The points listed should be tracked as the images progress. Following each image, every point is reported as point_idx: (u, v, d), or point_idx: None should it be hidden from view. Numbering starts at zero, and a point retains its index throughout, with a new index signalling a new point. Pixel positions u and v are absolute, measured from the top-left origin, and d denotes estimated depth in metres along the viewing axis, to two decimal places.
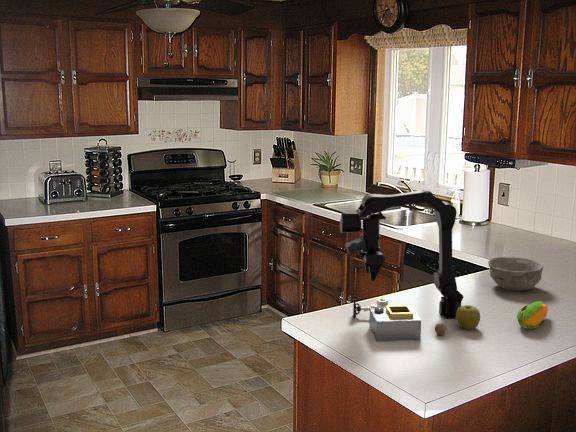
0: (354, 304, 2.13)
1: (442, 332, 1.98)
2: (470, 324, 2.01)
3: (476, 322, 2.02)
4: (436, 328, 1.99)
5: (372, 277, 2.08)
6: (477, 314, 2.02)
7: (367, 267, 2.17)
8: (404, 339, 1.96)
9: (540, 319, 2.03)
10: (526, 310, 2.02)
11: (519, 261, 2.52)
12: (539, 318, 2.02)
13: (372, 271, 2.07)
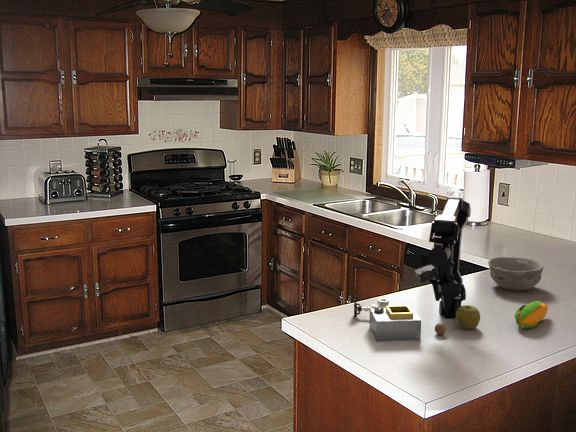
0: (355, 304, 2.13)
1: (442, 332, 1.98)
2: (470, 324, 2.01)
3: (476, 322, 2.02)
4: (436, 328, 1.99)
5: (446, 307, 1.93)
6: (477, 314, 2.02)
7: (437, 295, 2.02)
8: (404, 339, 1.96)
9: (538, 319, 2.03)
10: (523, 309, 2.03)
11: (519, 261, 2.52)
12: (537, 318, 2.03)
13: (446, 301, 1.92)
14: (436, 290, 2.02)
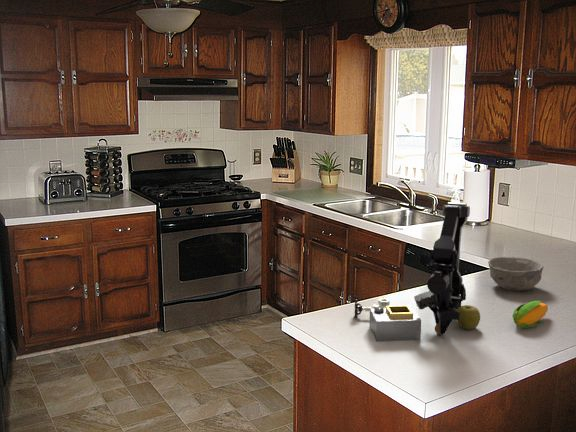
0: (356, 304, 2.13)
1: None
2: (470, 324, 2.01)
3: (476, 322, 2.02)
4: (436, 328, 1.99)
5: (442, 330, 1.97)
6: (477, 314, 2.02)
7: None
8: (404, 339, 1.96)
9: (536, 318, 2.04)
10: (521, 308, 2.04)
11: (519, 261, 2.52)
12: (535, 317, 2.03)
13: (442, 324, 1.96)
14: (437, 318, 2.01)
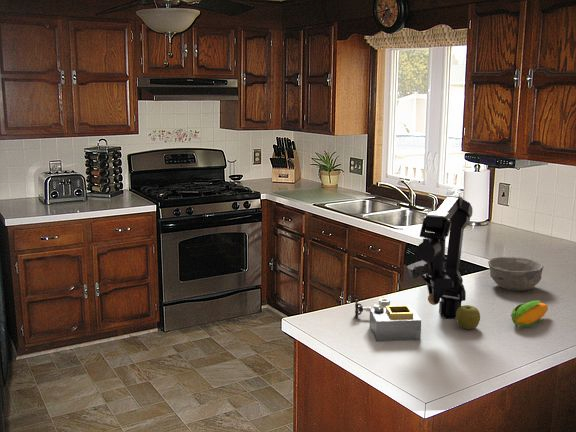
0: (356, 304, 2.13)
1: None
2: (470, 324, 2.01)
3: (476, 322, 2.02)
4: (429, 298, 1.97)
5: (435, 300, 1.95)
6: (477, 314, 2.02)
7: None
8: (404, 339, 1.96)
9: (534, 318, 2.04)
10: (519, 308, 2.04)
11: (519, 261, 2.52)
12: (533, 317, 2.04)
13: (436, 293, 1.94)
14: (430, 288, 1.99)
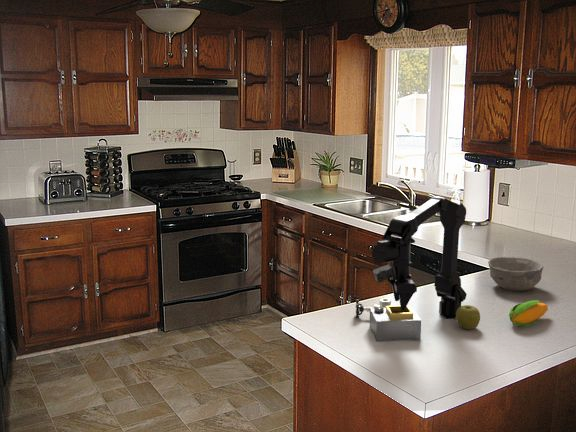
0: (357, 304, 2.13)
1: None
2: (470, 324, 2.01)
3: (476, 322, 2.02)
4: None
5: (402, 306, 1.95)
6: (477, 314, 2.02)
7: (396, 295, 2.03)
8: (404, 339, 1.96)
9: (532, 317, 2.04)
10: (517, 307, 2.05)
11: (519, 261, 2.52)
12: (531, 316, 2.04)
13: (402, 300, 1.94)
14: (395, 290, 2.03)
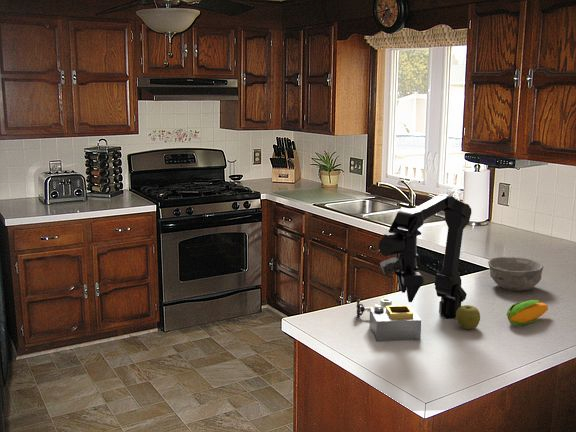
0: (358, 304, 2.13)
1: None
2: (470, 324, 2.01)
3: (476, 322, 2.02)
4: None
5: (410, 298, 1.96)
6: (477, 314, 2.02)
7: (403, 286, 2.05)
8: (404, 339, 1.96)
9: (530, 317, 2.05)
10: (515, 306, 2.06)
11: (519, 261, 2.52)
12: (528, 316, 2.05)
13: (410, 292, 1.95)
14: (402, 282, 2.05)
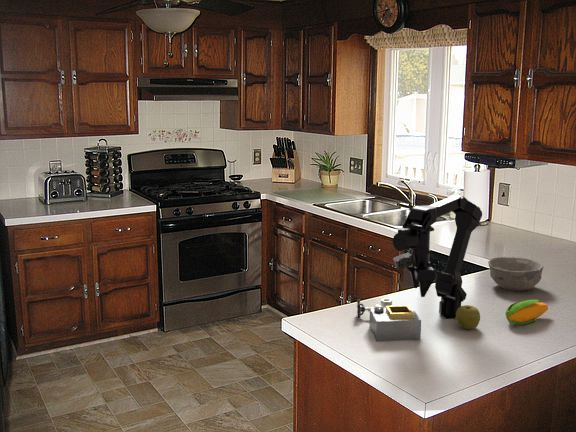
0: (358, 304, 2.13)
1: None
2: (470, 324, 2.01)
3: (476, 322, 2.02)
4: None
5: (422, 293, 1.99)
6: (477, 314, 2.02)
7: (415, 282, 2.08)
8: (404, 339, 1.96)
9: (528, 316, 2.05)
10: (514, 306, 2.06)
11: (519, 261, 2.52)
12: (527, 315, 2.05)
13: (422, 287, 1.98)
14: (414, 277, 2.08)
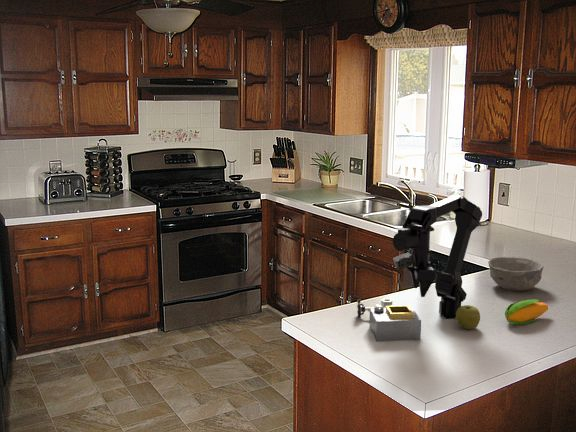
0: (359, 305, 2.13)
1: None
2: (470, 324, 2.01)
3: (476, 322, 2.02)
4: None
5: (422, 293, 1.99)
6: (477, 314, 2.02)
7: (415, 282, 2.08)
8: (404, 339, 1.96)
9: (527, 316, 2.06)
10: (513, 305, 2.07)
11: (519, 261, 2.52)
12: (526, 315, 2.05)
13: (422, 287, 1.98)
14: (414, 277, 2.08)
